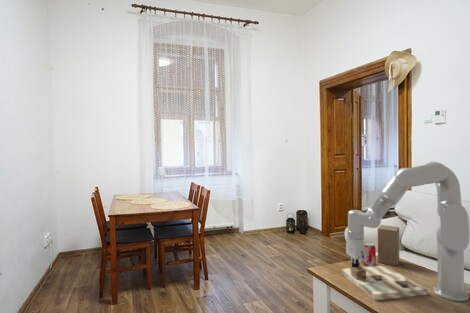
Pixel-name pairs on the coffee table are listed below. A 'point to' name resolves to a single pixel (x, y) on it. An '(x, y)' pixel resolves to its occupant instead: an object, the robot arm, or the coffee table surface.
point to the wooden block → (388, 245)
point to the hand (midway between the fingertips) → (355, 270)
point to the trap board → (385, 283)
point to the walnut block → (358, 273)
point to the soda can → (369, 254)
